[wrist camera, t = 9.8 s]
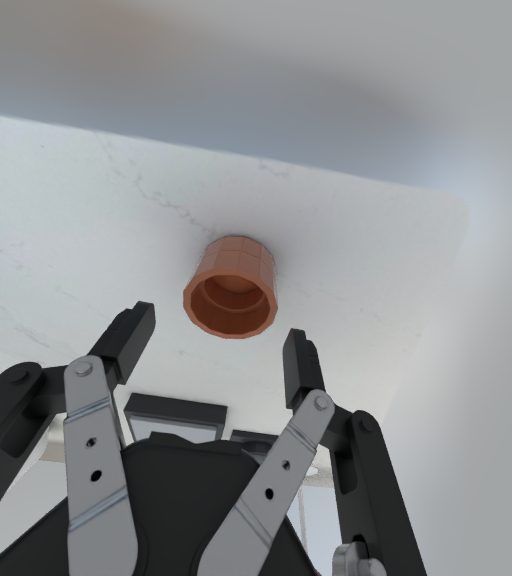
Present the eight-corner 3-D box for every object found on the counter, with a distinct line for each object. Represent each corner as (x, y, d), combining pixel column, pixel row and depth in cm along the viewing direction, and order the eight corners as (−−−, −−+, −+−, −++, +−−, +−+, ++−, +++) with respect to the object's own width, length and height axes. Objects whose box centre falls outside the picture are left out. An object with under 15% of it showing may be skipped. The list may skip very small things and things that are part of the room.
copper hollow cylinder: (284, 241, 17) (288, 278, 13) (266, 302, 21) (265, 345, 17) (203, 225, 17) (183, 258, 13) (199, 290, 21) (183, 331, 17)
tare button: (266, 454, 39) (266, 465, 38) (263, 459, 41) (263, 470, 39) (250, 452, 39) (249, 463, 37) (247, 457, 40) (246, 468, 39)
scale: (227, 406, 34) (224, 429, 31) (219, 437, 41) (216, 457, 38) (132, 392, 33) (120, 415, 30) (141, 426, 40) (132, 447, 37)
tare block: (289, 437, 39) (290, 454, 37) (278, 452, 44) (278, 468, 42) (233, 429, 39) (231, 446, 37) (227, 446, 43) (225, 462, 41)
